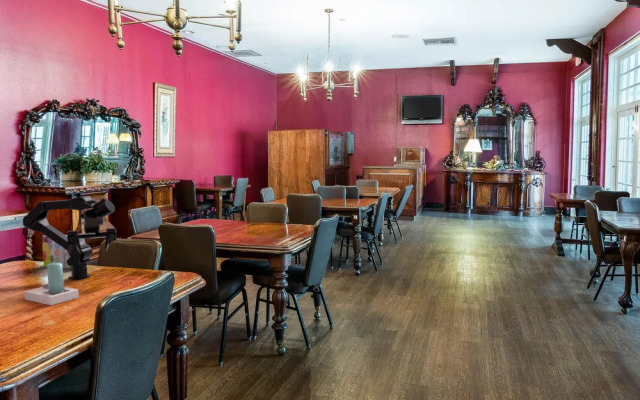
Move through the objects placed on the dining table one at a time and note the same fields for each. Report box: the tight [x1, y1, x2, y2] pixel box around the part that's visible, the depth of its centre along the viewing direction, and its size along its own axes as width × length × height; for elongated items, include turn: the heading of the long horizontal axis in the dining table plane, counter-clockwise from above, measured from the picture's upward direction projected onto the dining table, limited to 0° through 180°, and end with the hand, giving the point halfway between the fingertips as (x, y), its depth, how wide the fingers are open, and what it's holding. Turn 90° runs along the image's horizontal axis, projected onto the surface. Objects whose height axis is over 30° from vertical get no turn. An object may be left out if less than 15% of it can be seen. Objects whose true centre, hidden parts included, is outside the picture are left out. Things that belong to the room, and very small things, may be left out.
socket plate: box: [23, 284, 80, 306], centre depth 191 cm, size 16×11×4 cm
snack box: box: [41, 234, 86, 270], centre depth 242 cm, size 21×6×15 cm, turn 71°
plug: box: [46, 263, 65, 295], centre depth 189 cm, size 5×5×13 cm
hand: (93, 252), depth 208 cm, fingers open, 9 cm apart
